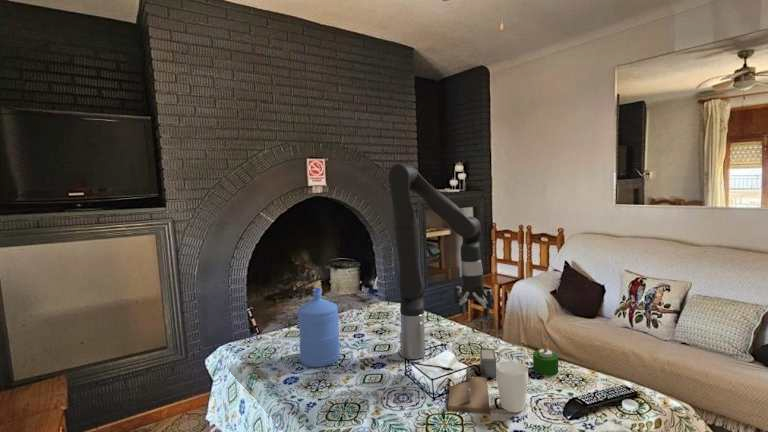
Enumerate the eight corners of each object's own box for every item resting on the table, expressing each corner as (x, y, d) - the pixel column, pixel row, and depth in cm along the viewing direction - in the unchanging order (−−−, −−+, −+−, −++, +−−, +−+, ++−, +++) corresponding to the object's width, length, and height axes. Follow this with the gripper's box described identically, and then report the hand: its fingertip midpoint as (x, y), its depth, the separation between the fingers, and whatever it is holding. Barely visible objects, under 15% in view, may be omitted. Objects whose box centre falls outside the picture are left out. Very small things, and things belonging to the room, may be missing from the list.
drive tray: (448, 409, 115) (448, 392, 115) (450, 378, 134) (450, 363, 133) (490, 413, 113) (489, 396, 112) (486, 380, 131) (486, 365, 131)
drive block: (481, 377, 134) (481, 360, 133) (480, 363, 144) (479, 348, 143) (496, 378, 133) (496, 361, 132) (494, 364, 143) (493, 348, 142)
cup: (492, 399, 120) (491, 362, 119) (520, 397, 120) (520, 360, 119) (503, 416, 111) (503, 376, 110) (534, 414, 111) (533, 374, 110)
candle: (557, 366, 140) (557, 339, 139) (559, 377, 132) (559, 348, 131) (532, 363, 142) (532, 337, 142) (533, 374, 135) (533, 346, 134)
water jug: (348, 357, 153) (345, 288, 150) (316, 372, 141) (312, 297, 139) (323, 347, 163) (320, 282, 161) (292, 360, 152) (288, 290, 150)
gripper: (449, 273, 140) (452, 316, 142) (486, 276, 132) (489, 322, 133) (458, 268, 146) (461, 310, 148) (494, 271, 138) (497, 315, 139)
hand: (474, 316), depth 140 cm, fingers open, 8 cm apart
